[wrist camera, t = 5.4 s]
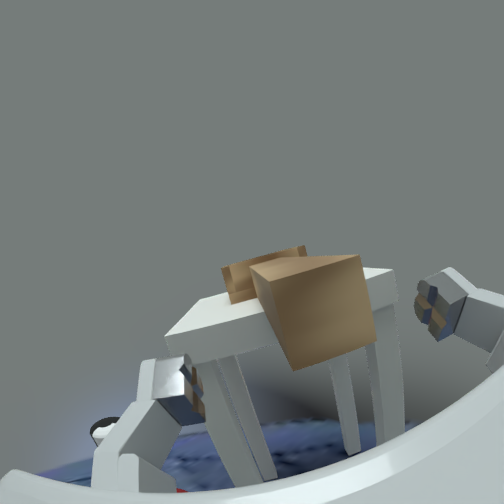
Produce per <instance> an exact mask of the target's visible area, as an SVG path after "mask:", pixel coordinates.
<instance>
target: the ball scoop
mask: <svg viewBox="0 0 504 504" xmlns="http://www.w3.org/2000/svg"><path fill="white" fill-rule="evenodd" d="M221 270H222V273H223V277H224V280H225V284H226V288H227V291H228V295H229V299H230V302H231V305H233V304H236V303H240V302H244V301H247V300H251V299H255V298H258V300H259V302H260V304H261V306H262V308H263V310H264V312H265V314H266V316H267V319H268V321H269V323H270V325H271V327H272V329H273V331H274V333H275V335H276V337H277V339H278V341H279V343H280V345H281V347H282V350H283V352H284V354H285V356H286V358H287V360H288V362H289V364H290V366H291V368H292V370H293V371H295V370H299V369H302V368H305V367H308V366H311V365H314V364H317V363H320V362H323V361H326V360H329V359H332V358H334V357H337V356H340V355H343V354H345V353H348V352H351V351H353V350H356V349H358V348H361V347H363V346H366V345H368V344H371V343H373V342H375V341H377V338H376V332H375V326H374V320H373V315H372V309H371V304H370V299H369V294H368V289H367V285H366V280H365V276H364V271H363V267H362V263H361V259H360V255H338V256H310V257H307V253H306V249H305V246H304V245H303V246H298V247H294V248H289V249H285V250H282V251H278V252H275V253H271V254H268V255H264V256H260V257H256V258H253V259H249V260H246V261H242V262H238V263H234V264H231V265H227V266H224V267H222V268H221Z"/></svg>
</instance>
